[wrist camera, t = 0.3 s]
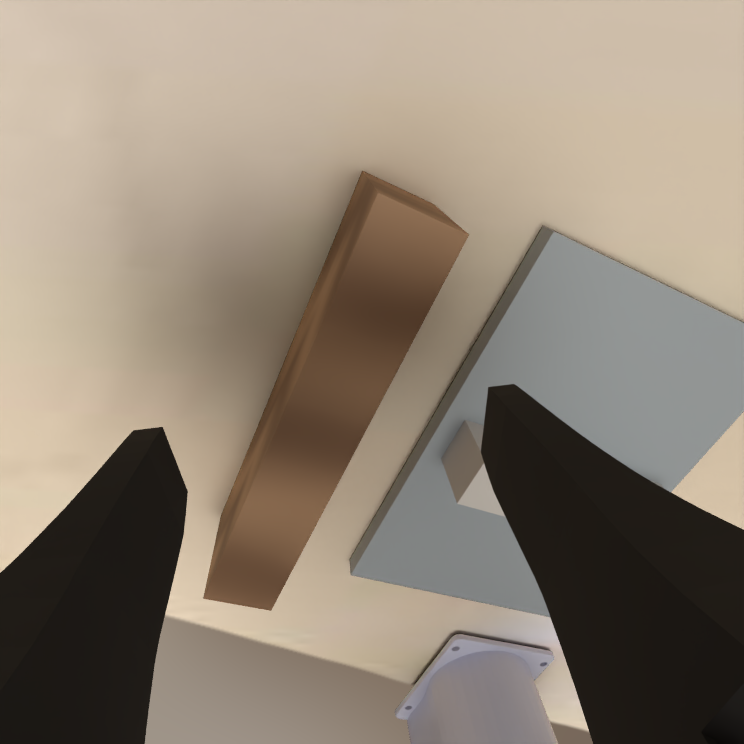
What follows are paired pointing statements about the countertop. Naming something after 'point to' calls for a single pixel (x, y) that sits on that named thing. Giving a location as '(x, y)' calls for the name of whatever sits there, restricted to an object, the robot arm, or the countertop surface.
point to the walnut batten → (331, 384)
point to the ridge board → (557, 413)
